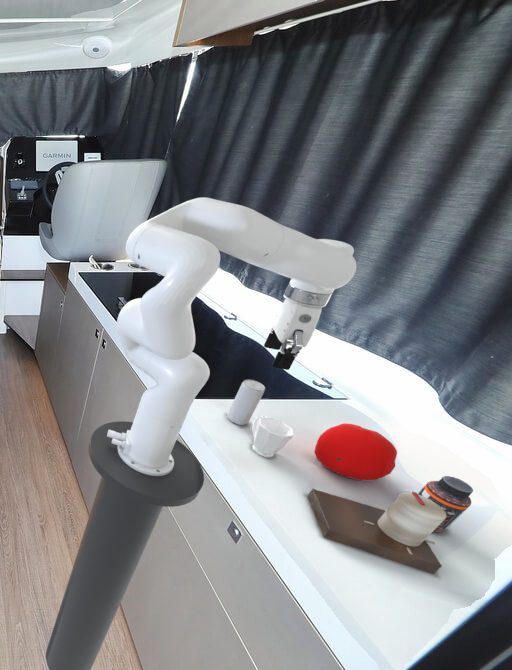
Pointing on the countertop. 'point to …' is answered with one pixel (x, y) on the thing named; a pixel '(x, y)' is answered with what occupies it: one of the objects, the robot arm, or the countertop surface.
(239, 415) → the beverage can
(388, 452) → the tomato
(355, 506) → the dial plaque
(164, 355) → the robot arm
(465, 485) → the supplement bottle
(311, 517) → the countertop surface
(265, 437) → the cup
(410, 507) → the cream dial knob
